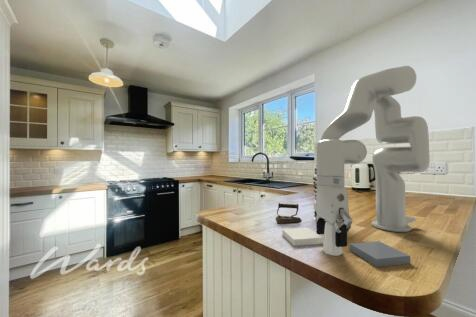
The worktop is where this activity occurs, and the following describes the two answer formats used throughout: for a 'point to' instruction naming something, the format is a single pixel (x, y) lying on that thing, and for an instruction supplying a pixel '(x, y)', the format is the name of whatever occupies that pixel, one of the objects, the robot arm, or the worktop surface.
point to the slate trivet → (379, 254)
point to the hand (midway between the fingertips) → (330, 239)
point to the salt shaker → (330, 240)
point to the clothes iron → (287, 218)
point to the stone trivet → (302, 236)
